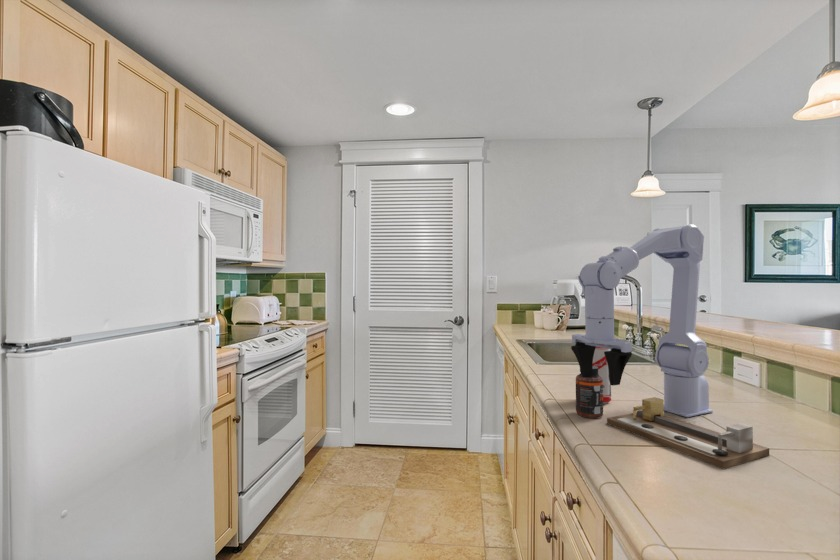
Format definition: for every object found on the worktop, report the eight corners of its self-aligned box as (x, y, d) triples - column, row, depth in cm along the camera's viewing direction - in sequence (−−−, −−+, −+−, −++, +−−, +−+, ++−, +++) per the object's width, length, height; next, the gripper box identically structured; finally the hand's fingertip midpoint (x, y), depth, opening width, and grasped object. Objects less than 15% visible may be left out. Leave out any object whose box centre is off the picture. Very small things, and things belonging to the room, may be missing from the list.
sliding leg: (655, 415, 91) (655, 397, 91) (663, 418, 89) (663, 399, 89) (629, 420, 88) (629, 401, 88) (638, 423, 86) (637, 404, 86)
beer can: (609, 406, 103) (608, 342, 103) (582, 403, 106) (582, 340, 106) (612, 400, 108) (612, 339, 108) (587, 397, 112) (586, 337, 112)
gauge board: (648, 415, 96) (648, 392, 96) (769, 455, 74) (769, 425, 74) (607, 423, 91) (606, 399, 91) (723, 468, 69) (723, 437, 69)
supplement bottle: (606, 419, 93) (605, 369, 93) (578, 418, 94) (577, 368, 95) (600, 411, 99) (599, 364, 99) (574, 410, 100) (573, 363, 100)
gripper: (561, 316, 95) (562, 375, 95) (613, 321, 81) (614, 390, 81) (584, 314, 97) (585, 372, 97) (639, 319, 84) (640, 386, 84)
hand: (600, 380), depth 89 cm, fingers open, 7 cm apart
